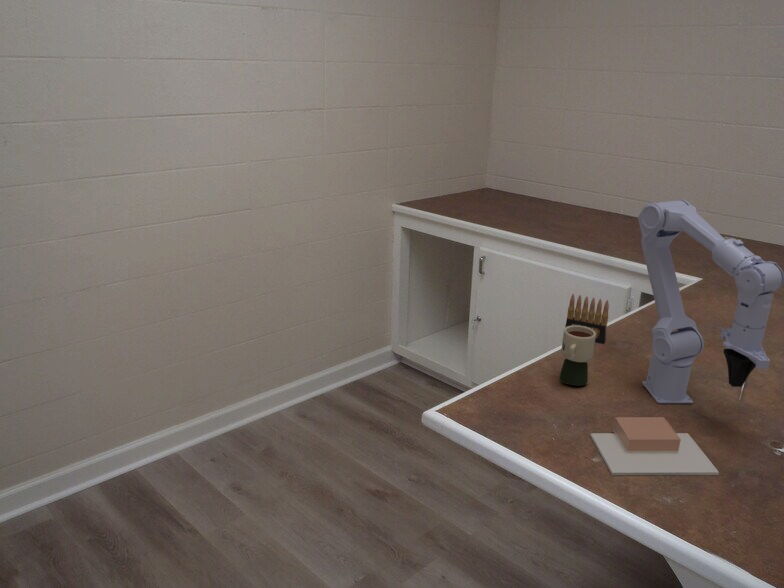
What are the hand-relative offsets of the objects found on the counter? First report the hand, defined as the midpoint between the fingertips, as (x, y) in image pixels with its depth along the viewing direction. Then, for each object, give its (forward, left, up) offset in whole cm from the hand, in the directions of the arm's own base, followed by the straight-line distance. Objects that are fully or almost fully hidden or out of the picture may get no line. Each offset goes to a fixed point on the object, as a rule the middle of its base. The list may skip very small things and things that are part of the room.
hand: (735, 385), depth 135 cm
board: (+9, -19, -10) cm, 23 cm away
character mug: (-20, -26, -11) cm, 35 cm away
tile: (+1, -19, -8) cm, 21 cm away
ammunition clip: (-44, -16, -11) cm, 48 cm away
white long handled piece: (-28, +18, -11) cm, 35 cm away
